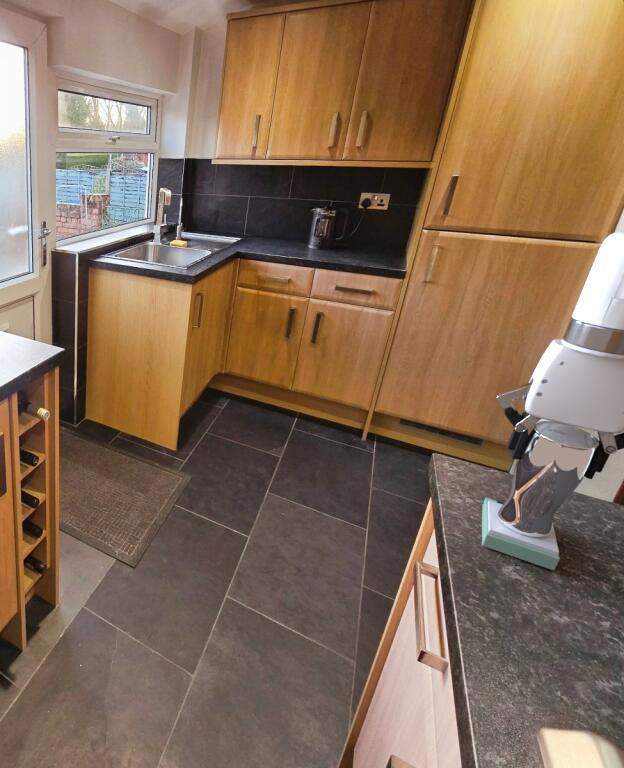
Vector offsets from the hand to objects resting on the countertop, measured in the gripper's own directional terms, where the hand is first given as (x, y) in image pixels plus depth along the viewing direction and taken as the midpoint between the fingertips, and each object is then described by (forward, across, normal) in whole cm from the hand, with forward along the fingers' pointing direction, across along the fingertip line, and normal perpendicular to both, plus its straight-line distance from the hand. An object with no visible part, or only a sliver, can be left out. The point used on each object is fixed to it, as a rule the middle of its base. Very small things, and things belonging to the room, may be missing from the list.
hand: (549, 463), depth 67 cm
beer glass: (+10, 0, 0) cm, 10 cm away
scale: (+13, 0, -1) cm, 13 cm away
